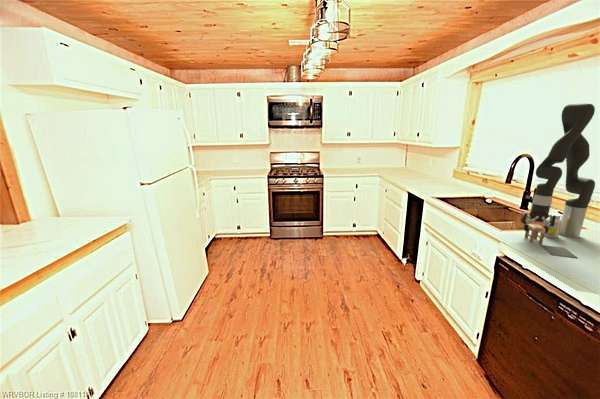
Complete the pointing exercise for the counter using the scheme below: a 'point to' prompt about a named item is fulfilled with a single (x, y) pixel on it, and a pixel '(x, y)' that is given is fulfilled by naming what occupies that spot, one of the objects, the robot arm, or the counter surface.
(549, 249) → the rubber mat
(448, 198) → the counter surface
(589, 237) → the counter surface
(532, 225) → the notched wooden block
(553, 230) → the supplement bottle
